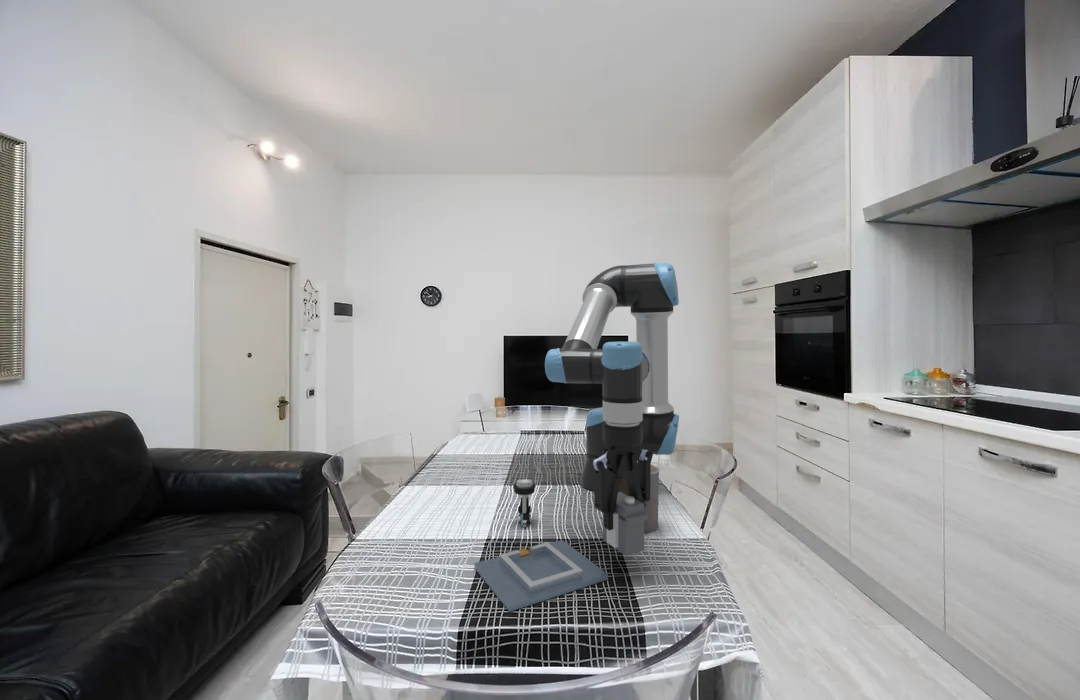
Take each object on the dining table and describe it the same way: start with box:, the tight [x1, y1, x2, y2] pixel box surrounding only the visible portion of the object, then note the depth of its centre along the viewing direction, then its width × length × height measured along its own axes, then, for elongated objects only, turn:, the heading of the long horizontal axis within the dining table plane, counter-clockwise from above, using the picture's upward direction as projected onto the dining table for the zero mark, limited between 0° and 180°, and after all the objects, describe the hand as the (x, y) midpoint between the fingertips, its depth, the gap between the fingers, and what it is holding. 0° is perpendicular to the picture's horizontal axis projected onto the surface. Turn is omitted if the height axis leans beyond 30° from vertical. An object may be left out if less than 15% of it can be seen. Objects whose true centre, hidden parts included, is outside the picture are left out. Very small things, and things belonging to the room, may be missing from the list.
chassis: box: [473, 539, 609, 613], centre depth 86 cm, size 20×16×2 cm
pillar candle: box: [618, 461, 660, 534], centre depth 108 cm, size 10×10×15 cm
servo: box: [602, 492, 648, 557], centre depth 88 cm, size 4×9×10 cm, turn 29°
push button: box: [512, 478, 536, 528], centre depth 109 cm, size 7×5×10 cm
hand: (623, 541), depth 88 cm, fingers closed on servo, 4 cm apart
